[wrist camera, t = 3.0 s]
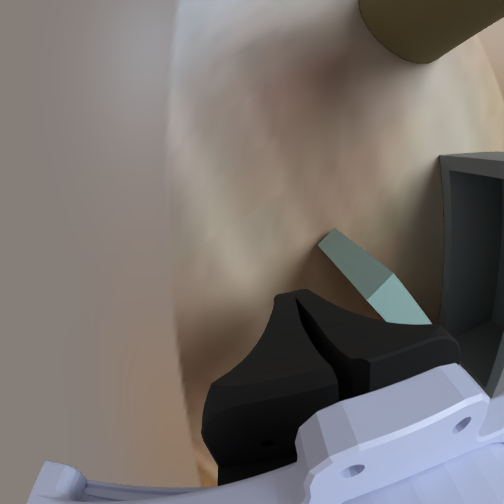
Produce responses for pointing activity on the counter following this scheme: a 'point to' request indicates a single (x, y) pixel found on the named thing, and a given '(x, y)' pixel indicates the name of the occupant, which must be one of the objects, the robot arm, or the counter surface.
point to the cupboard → (475, 263)
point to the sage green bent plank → (373, 280)
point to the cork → (427, 24)
